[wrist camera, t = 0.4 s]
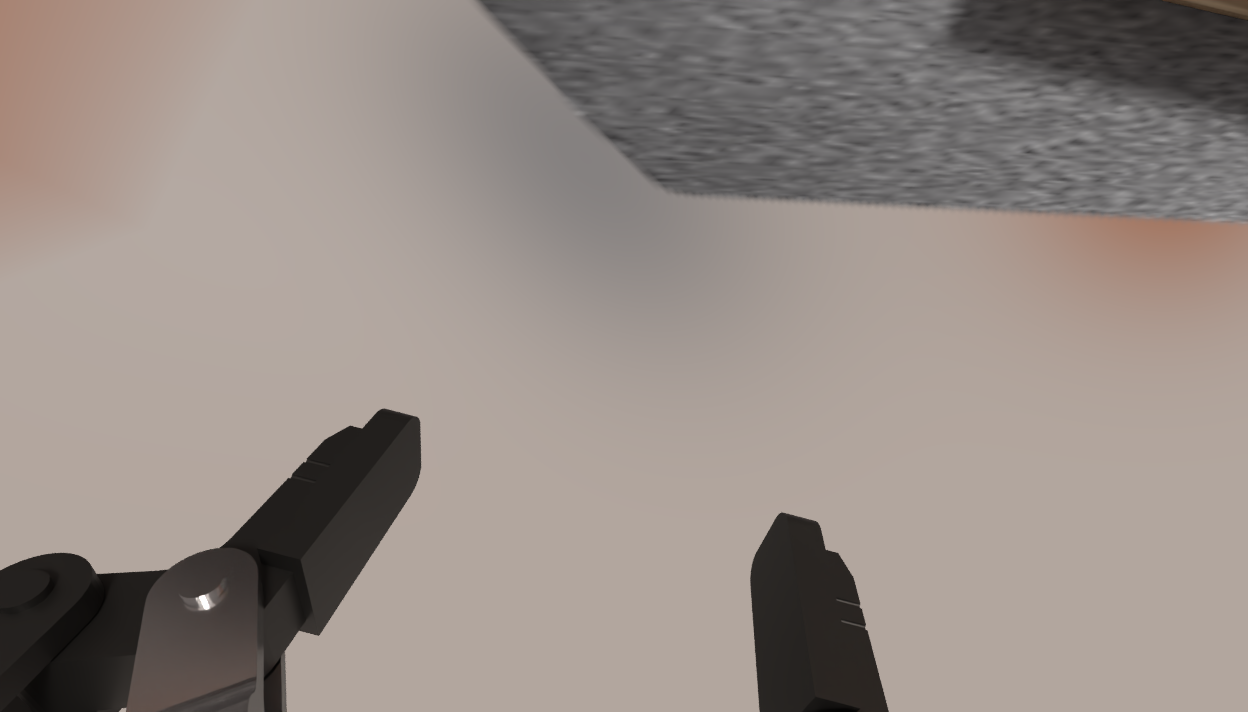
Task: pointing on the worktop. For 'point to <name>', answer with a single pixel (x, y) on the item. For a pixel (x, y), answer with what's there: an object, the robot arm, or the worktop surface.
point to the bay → (1218, 6)
